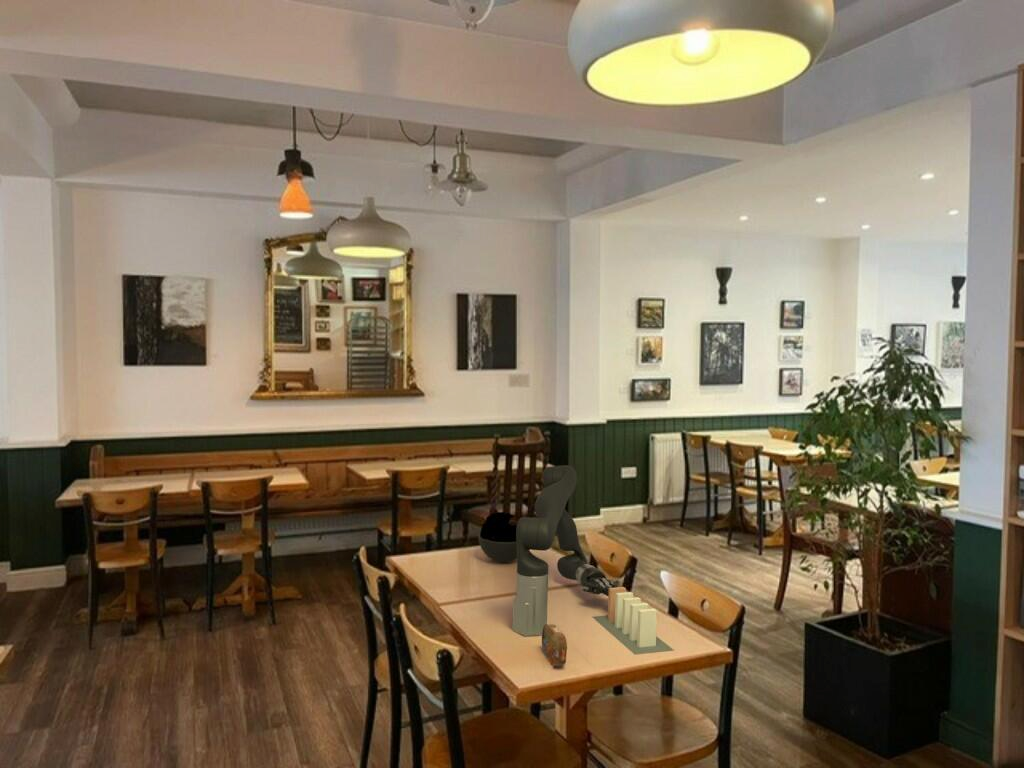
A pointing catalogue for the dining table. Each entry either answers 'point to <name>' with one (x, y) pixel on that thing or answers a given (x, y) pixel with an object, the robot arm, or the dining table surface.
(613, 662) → the dining table surface
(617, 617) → the domino
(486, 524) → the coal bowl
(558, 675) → the dining table surface
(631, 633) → the domino
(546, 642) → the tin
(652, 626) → the domino
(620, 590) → the domino
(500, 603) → the dining table surface
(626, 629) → the domino
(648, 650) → the mat
